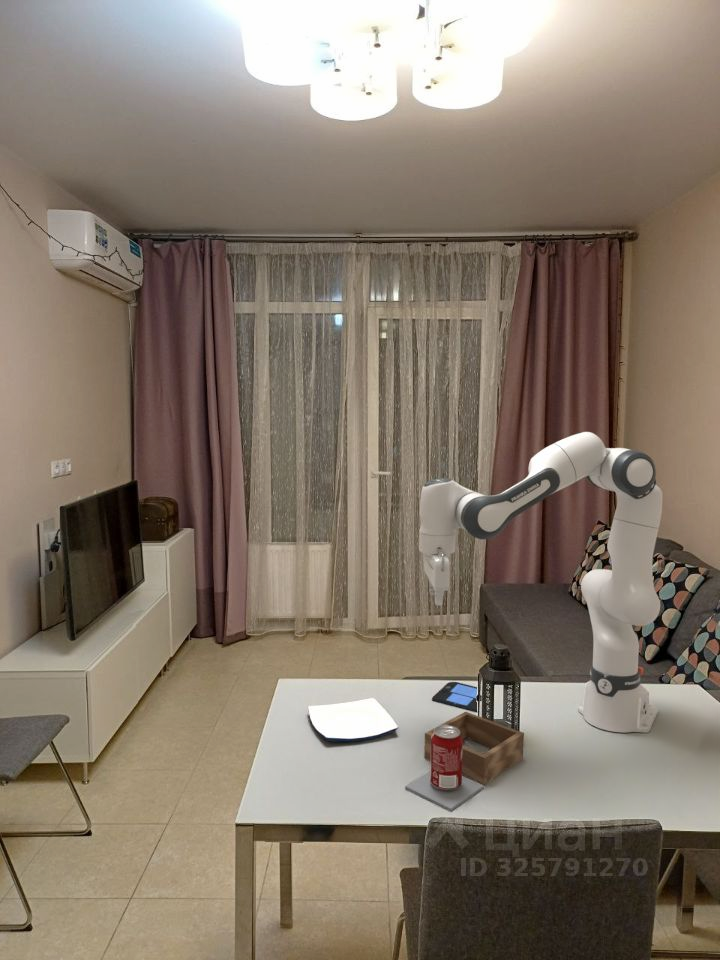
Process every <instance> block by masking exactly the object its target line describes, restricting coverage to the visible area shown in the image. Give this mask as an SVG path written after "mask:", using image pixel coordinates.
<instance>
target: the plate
mask: <svg viewBox="0 0 720 960" xmlns="http://www.w3.org/2000/svg"><path fill="white" fill-rule="evenodd" d="M307 710H308V715H309V720H310V722H311V724H312V726H313V728H314V729H315V730H316V732H317V733H318V734H319V735H320V736H321V737H323V739H325V740H326V741H328V742H356V741H364V740H369V739H375V738H376V739H377V738H379V737H382V736H386V735H388V734H389V735H390V734H391V733H394V732H396V731H397V730H398V729H399V726H398V725H397V723H396V721H394V719H393V717H392V716H391V715H390V713H389V712H387V710H386V709H385V708H384V707H383V706H382V705H381V704H380V703H379V702H378V701H377V700H376V698H375V697H374V698H373V697H370V698H366V699H359V700H355V701H348V702H341V703H333V704H322V705H321V704H320V705H309V706H308V707H307Z"/></svg>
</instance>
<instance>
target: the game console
mask: <svg viewBox="0 0 720 960" xmlns="http://www.w3.org/2000/svg"><path fill="white" fill-rule="evenodd" d="M476 695H477V686H474V685H470V684H466V683H462V682H458V681H449V682H447V683H446V684H445V685H444V686H443V687H442V688H441V689H440V690H439V691H437V692H436V693H435V694H434V695H433V696H432V697H431V700H432V702H434V703H439V704H442V705H446V706H448V707H454V708H457V709H462V710H465V711H467V712H468V711H469V712H473V713H477V702H476Z"/></svg>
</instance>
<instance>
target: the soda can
mask: <svg viewBox="0 0 720 960" xmlns="http://www.w3.org/2000/svg"><path fill="white" fill-rule="evenodd" d="M434 728H435V729H434ZM434 728H433V729H434V734H433V735H432V737H431V761H430V760H429V761H430V764H429V765H430V767H429V768H430V769H429V770H430V782H431V784H432V785H433V786H434V787H436V788H438V789H440V790H443V791H452V790H455V789H457V788H459V787H460V786H461V784H462V776H463V775H462V757H463V746H464V739H462V737H461V735H460V730H459V729H458V728H456V727H453V726H448V725H442V726H439V725H438V726H435V727H434Z"/></svg>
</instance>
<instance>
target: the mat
mask: <svg viewBox="0 0 720 960" xmlns="http://www.w3.org/2000/svg"><path fill="white" fill-rule="evenodd" d="M404 789H405V790H407V791H408V792H411V793H413V794H415V795H417V796H419V797H421V798H423V799H425V800H427V801H429V802H430V803H431V802H432V804H435V805H437V806H439V807H440V808H443V809H445V810H447V811H450V812H452V811H454V810H455V809H457V808H458V807H459V806H461V805H462V804H464V803H465V802H467V801H468V800H470V799H471V798H472V797H474V796H475V795H477V794H478V793H479V792H481V791H482V790H484V789H485V784H482V783H479V782H477V781H475V780H473V779H471V778H468V777H466V776H464V775H462V784H461V786H460V787H459V788H457V789H455V790H452V791H443V790H440V789H438V788H436V787H434V786H433V785H432V784H431V782H430V771H428V772H426V773H424V774H422V775H421V776H420V777H417V778H416V779H415V780H413V781H411V782H410V783H407V784H406V785H405V786H404Z"/></svg>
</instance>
